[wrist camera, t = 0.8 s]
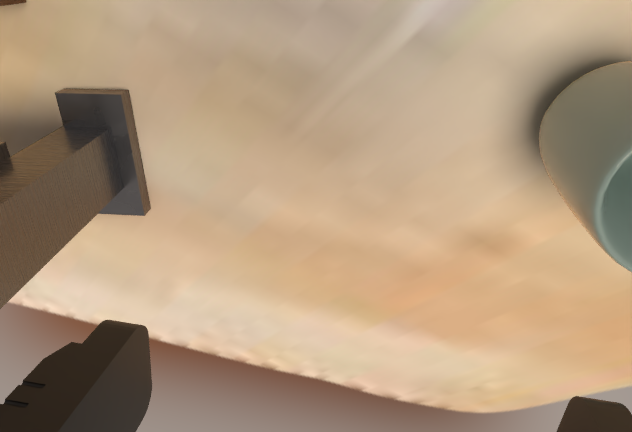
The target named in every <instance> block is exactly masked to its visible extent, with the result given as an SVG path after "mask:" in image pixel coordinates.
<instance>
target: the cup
mask: <svg viewBox="0 0 632 432" xmlns="http://www.w3.org/2000/svg"><path fill="white" fill-rule="evenodd" d="M538 141H539V149H540V155H541V158H542V161H543V164H544V166H545V169H546V171H547V174H548V176H549V178H550V180H551V181H552V183H553V185H554V186H555V188H556V189H557V191H558V192H559V194H560V196H561V197H562V199H563V200H564V202H565V203H566V204H567V206H568V207H569V209H570V210H571V211H572V213H573V214H574V215H575V217H576V218H577V219H578V220H579V222H580V223H581V224H582V226H583V227H584V228H585V229H586V231H587V232H588V233H589V234H590V236H591V237H592V238H593V239H594V240H595V242H596V243H597V244H598V245H599V246H600V247H601V248H602V249H603V250H604V251H605V252H606V253H607V254H608V255H609V256H610V257H611V258H612V259H613V260H614V261H615V262H617V263H618V264H620V265H621V266H623V267H624V268H626V269H627V270H629V271H630V272H632V61H624V62H616V63H613V64H609V65H606V66H602V67H599V68H597V69H594V70H592V71H590V72H588V73H586V74H584V75H582V76H581V77H579V78H578V79H576V80H575V81H573V82H572V83H571V84H569V85H568V86H567V87H566V88H565V89H564V90H562V91H561V92H560V93H559V94H558V96H557V97H556V98H555V99H554V100H553V101H552V102H551V104H550V106H549V107H548V109H547V110H546V112H545V114H544V116H543V119H542V121H541V124H540V131H539V139H538Z"/></svg>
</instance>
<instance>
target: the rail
mask: <svg viewBox="0 0 632 432" xmlns="http://www.w3.org/2000/svg"><path fill="white" fill-rule="evenodd" d="M25 2H26V0H0V6H4V5H11V4H18V3H25Z"/></svg>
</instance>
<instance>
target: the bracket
mask: <svg viewBox="0 0 632 432" xmlns="http://www.w3.org/2000/svg"><path fill="white" fill-rule="evenodd" d="M55 95H56V99H57V103H58V106H59V110H60V114H61V118H62V122H63V125H64V126H63V127H61V128H59V129H57V130H56V131H54V132H52V133H51V134H49V135H47V136H45V137H44V138H42V139H40V140H38V141H37V142H35V143H33V144H32V145H30V146H28V147H26V148H25V149H23V150H21V151H20V152H18V153H16V154H14V155H13V156H11V157H10V155H9V152H8V149H7V146H6V142H0V309H1V308H2V307H3V306H4V305H5V304H6V303H7V302H8V301H9V300H10V299H11V298H12V297H13V296H14V295H15V294H16V293H17V292H18V291H19V290H20V289H21V288H22V287H23V286H24V285H25V284H26V283H27V282H28V281H29V280H30V279H31V278H32V277H33V276H34V275H36V274H37V273H38V272H39V271H40V270H41V269H42V268H43V267H44V266H45V265H46V264H47V263H48V262H49V261H50V260H51V259H52V258H53V257H54V256H55V255H56V254H57V253H58V252H59V251H60V250H61V249H62V248H63V247H64V246H65V245H66V244H67V243H68V242H69V241H70V240H71V239H72V238H73V237H74V236H75V235H76V234H77V233H78V232H79V231H80V230H81V229H82V228H83V227H84V226H86V225H87V224H88V223H89V222H90V221H91V220H92V219H93V218H94V217H95V216H96V215H97V214H119V215H140V216H145V215H146V213H147V212H148V211H149V210H150V209H151V208H150V203H149V198H148V192H147V187H146V182H145V176H144V171H143V166H142V160H141V155H140V150H139V144H138V139H137V134H136V128H135V123H134V118H133V112H132V107H131V102H130V96H129V91H128V90H99V89H62V90H60V91H58V92H56V93H55Z"/></svg>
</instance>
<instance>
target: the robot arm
mask: <svg viewBox="0 0 632 432" xmlns="http://www.w3.org/2000/svg"><path fill="white" fill-rule="evenodd" d="M151 391H152V380H151V364H150V350H149V335H148V330H147V328H146V327H145V326H143V325H137V324H131V323H125V322H119V321H112V320H105V321H103V322H101V323H100V324H99V325H98V326H97V328H96V329H95V330H94V331H93V332H92V333H91V334H90V335H89V337H88V338H87V339H86V340H85V341H84V342H83V343H82V344H80V343H74V342H71V343H69V344H68V345H66V346H64V347H63V348H61V349H59V350H58V351H56V352H54V353H53V354H51V355H49V356H48V357H46V358H44V359H43V360H42V361H41V362H40V364H38V365H37V366H36V368H35V369H34V370H33V371H32V372H31V373H30V374H29V375H28V376H27V377H26V378H25V379H24V380H23V383H22V385H18V386H17V387H16V388H15V390H14V391H13V392H12V393H11V394H10V395H9V396H8V397H7V398H6V399H5V403H4V404H0V432H136V430H137V428H138V427H139V425H140V423H141V421H142V420H143V418H144V416H145V413H146V411H147V408H148V405H149V401H150V397H151ZM557 432H632V415H631V413H630V411H629V410H628V409H627V408H626V407H625V406H624V405H623V404H621V403H616V402H609V401H603V400H597V399H591V398H585V397H579V396H576V397H573V398H572V399H571V400H570V402H569V403H568V406H567V408H566V410H565V413H564V415H563V418H562V420H561V422H560V425H559V427H558V430H557Z"/></svg>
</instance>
